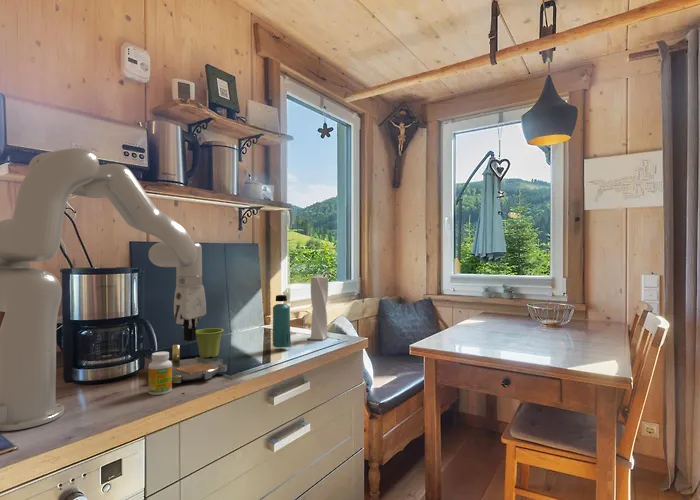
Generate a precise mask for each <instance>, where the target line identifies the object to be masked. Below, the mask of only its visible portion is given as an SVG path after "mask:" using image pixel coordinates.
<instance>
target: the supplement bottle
mask: <svg viewBox="0 0 700 500" xmlns="http://www.w3.org/2000/svg"><path fill="white" fill-rule="evenodd" d="M169 358H170V352H169V351H157V352H156V351H155V352H153V353H151V360H152V361H151V362H149V364H148V377H147V378H148V379H147V380H148V381H147V382H148V384H147V385H148V387H147V388H148V394H149V395H152V396H160V395H166V394H169V393H170V392H172V390H173V381H172V362H171V361H170V359H169Z"/></svg>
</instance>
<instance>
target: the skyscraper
mask: <svg viewBox="0 0 700 500" xmlns="http://www.w3.org/2000/svg"><path fill="white" fill-rule="evenodd" d="M326 273H327V276H324V274H326ZM329 275H330V272H329V271H327V270H326V271H324V272H323V273H322V274H316V275H314V274H313V275H311V276H310V300H311V306H312V310H311V326H310V332H311V333H310V336H309V337H308V338H307V341H320V340H324V341H325V340H327V339H328V338H329V335H328V315H327V314H328V313H327V304H328V303H327V302H328V298H329V297H328V296H329V295H328V294H329Z"/></svg>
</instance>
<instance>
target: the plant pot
mask: <svg viewBox="0 0 700 500" xmlns="http://www.w3.org/2000/svg"><path fill="white" fill-rule="evenodd" d="M223 332H224V329H223V328H216V327H215V328H213V327H211V328H210V327H209V328H202V329H196V341H197V347H198V354H199V357H202V359H210V357H212V358H215V357H218V356H219V354H220V353H219V352H220V347H221V346H220V345H221V339H222V335H223Z"/></svg>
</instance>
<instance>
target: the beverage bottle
mask: <svg viewBox="0 0 700 500" xmlns="http://www.w3.org/2000/svg"><path fill="white" fill-rule="evenodd" d="M287 301H288V297H287V295H286V294H279V295H277V294H276V295H275V302H287ZM290 309H291V306H290V305H289V304H287V303H286V304H285V303H277V304H274V306H273V307H272V346H273V347H274V348H281V349H282V348H288V347H290V346H291V316H290V315H291V313H290V311H291V310H290Z"/></svg>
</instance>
